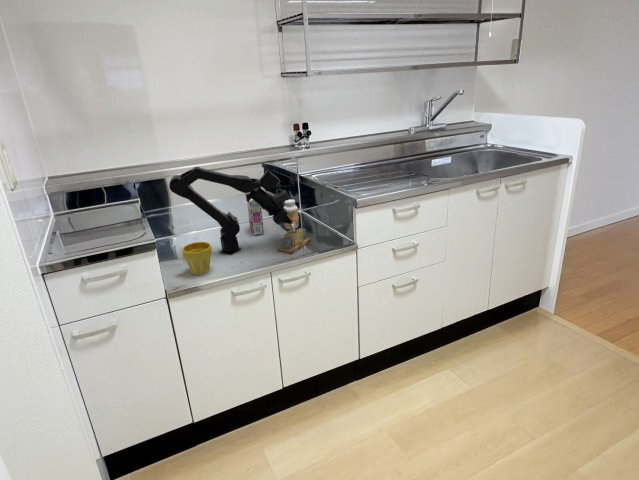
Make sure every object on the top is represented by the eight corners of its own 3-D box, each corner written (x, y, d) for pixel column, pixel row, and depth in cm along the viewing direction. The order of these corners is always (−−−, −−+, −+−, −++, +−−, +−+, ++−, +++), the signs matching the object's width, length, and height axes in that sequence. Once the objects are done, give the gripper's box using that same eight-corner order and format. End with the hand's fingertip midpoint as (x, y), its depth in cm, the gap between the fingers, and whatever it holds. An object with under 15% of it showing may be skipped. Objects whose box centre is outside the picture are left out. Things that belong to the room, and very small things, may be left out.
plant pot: (218, 272, 151) (214, 247, 147) (190, 279, 146) (185, 254, 143) (210, 262, 159) (206, 239, 156) (183, 269, 155) (178, 245, 151)
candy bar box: (264, 234, 185) (260, 199, 179) (253, 236, 184) (249, 201, 177) (260, 226, 195) (256, 193, 189) (249, 228, 194) (245, 194, 187)
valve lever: (295, 228, 166) (295, 224, 165) (289, 228, 166) (289, 224, 166) (299, 219, 176) (299, 215, 176) (293, 219, 176) (293, 215, 176)
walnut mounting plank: (291, 254, 163) (291, 251, 162) (277, 251, 166) (276, 248, 166) (310, 241, 175) (310, 238, 174) (297, 238, 178) (296, 235, 177)
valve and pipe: (289, 250, 163) (288, 234, 161) (279, 248, 165) (278, 232, 163) (307, 238, 174) (306, 223, 172) (298, 236, 177) (297, 221, 174)
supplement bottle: (281, 228, 191) (279, 202, 186) (289, 224, 196) (287, 198, 192) (294, 230, 188) (292, 203, 183) (301, 225, 194) (299, 199, 189)
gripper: (281, 190, 156) (310, 215, 163) (273, 179, 173) (299, 202, 180) (262, 212, 157) (291, 235, 164) (255, 199, 174) (282, 221, 181)
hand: (291, 222), depth 172 cm, fingers closed
